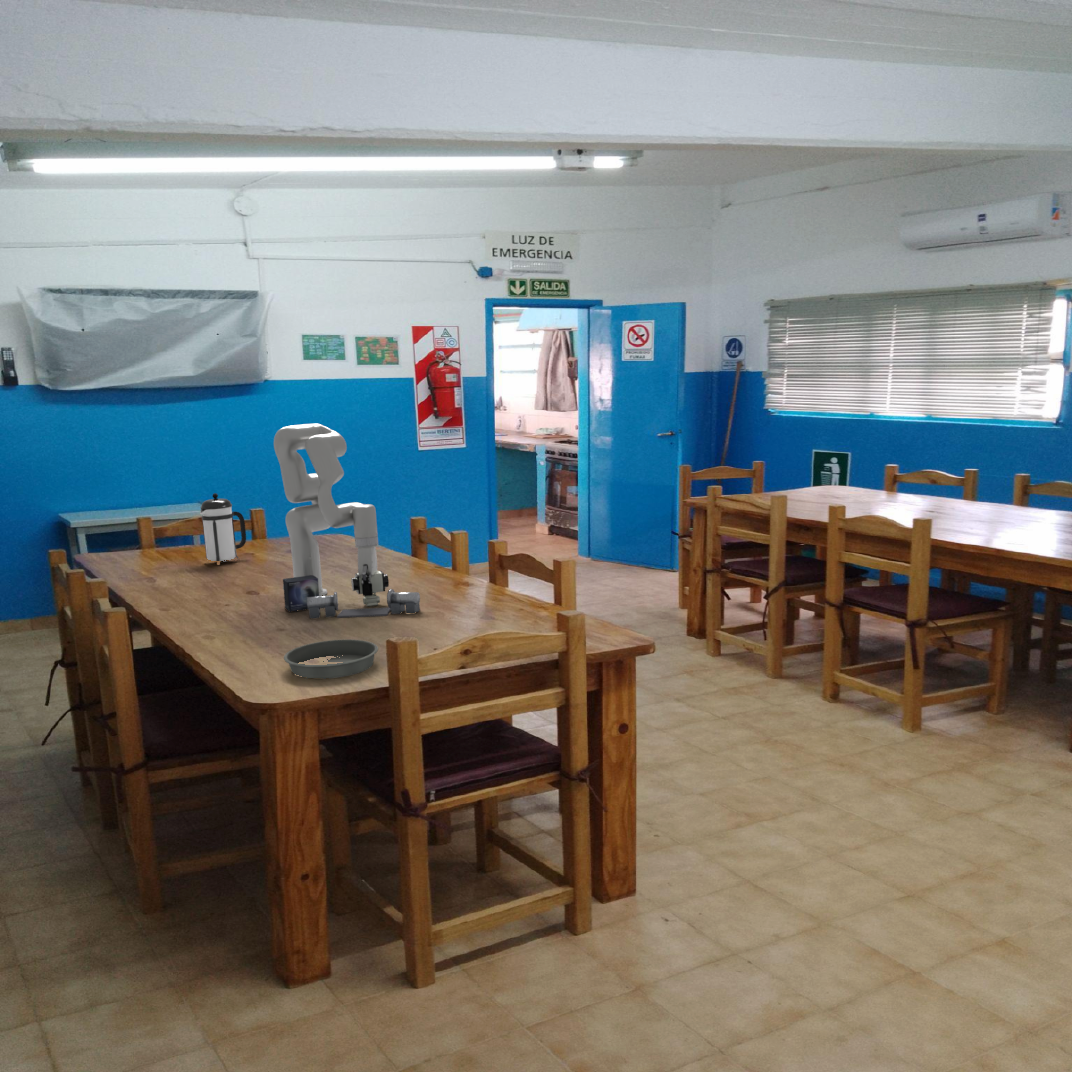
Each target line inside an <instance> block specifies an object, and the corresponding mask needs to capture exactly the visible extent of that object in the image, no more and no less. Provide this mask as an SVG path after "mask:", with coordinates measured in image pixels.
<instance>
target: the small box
mask: <svg viewBox="0 0 1072 1072" xmlns="http://www.w3.org/2000/svg"><path fill="white" fill-rule="evenodd" d="M283 586H284V590H283V596H284V609H285V608H286V609H287V610H288V611H287V610H286V609H285V610H286V611H287V612H289V611H290V612H289V613H292V612H291V611H295V612H298V611H297V610H302V611H306V610H305V609H308V607H307V597H316V596H319V587H318V578H317V577H315V576H314V575H309V576H301V577H294V576H293V577H289V578H288V577H285V578H283V579H282V587H283Z"/></svg>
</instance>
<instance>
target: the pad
mask: <svg viewBox="0 0 1072 1072" xmlns="http://www.w3.org/2000/svg"><path fill="white" fill-rule="evenodd" d="M390 613H391V608H389V607H388V606H387V607H371V608H370V607H369V608H368V607H367V608H346V609H342V610H341V611H340V612H339V613H338V614H337V615H336V618H337V619H339V618H343V619H344V618H365V617H386V616H388V615H389V614H390Z"/></svg>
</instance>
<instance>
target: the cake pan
mask: <svg viewBox="0 0 1072 1072" xmlns="http://www.w3.org/2000/svg"><path fill="white" fill-rule="evenodd" d="M378 651H379V647H378V645H377V644H375V643H374V642H372V641H367V640H362V639H361V640H360V639H331V640H322V641H316V642H312V643H308V644H303V645H300V646H298V647H295V648H292V649H291V650H289V651H288V652H285V654H284V655H283V660H284V662H286V663H287V664H288V665H289V669H290V670H291V673H292V672H293V673H294V674H296V675H299V676H302V677H307V678H306V679H308V678H321V679H320V680H325V679H326V678H329V679H335V678H336V679H337V678H338V679H339V678H343V677H348V676H353V675H357V674H360V673H362V672H364V671H367V670H368V669H370V668H371V667H372V666H373V664H374V659H375V655H376V653H377V652H378ZM342 655H343V656H342ZM326 656H334V657H336V658H331V659H330V660H328V659H327V660H328V662H343V663H337V664H327V665H305V664H298V663H299V662H304V661H307V660H310V659H314V658H319V657H326ZM337 656H338V657H337ZM339 657H340V658H339ZM323 662H324V661H323ZM293 673H292V674H293ZM294 674H293V675H294ZM322 678H323V679H322Z"/></svg>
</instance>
